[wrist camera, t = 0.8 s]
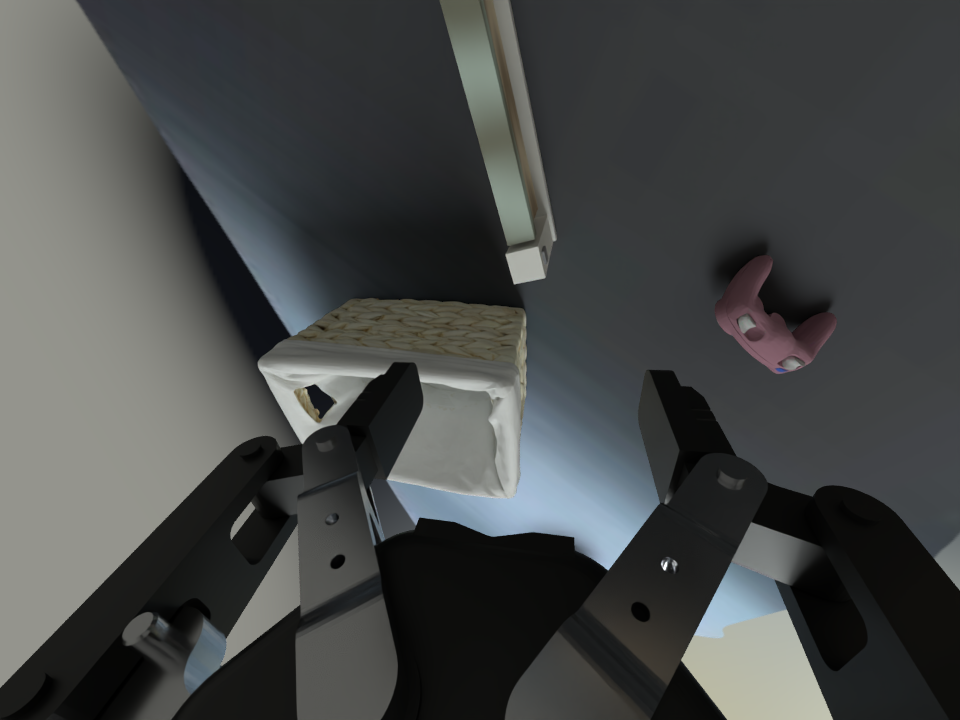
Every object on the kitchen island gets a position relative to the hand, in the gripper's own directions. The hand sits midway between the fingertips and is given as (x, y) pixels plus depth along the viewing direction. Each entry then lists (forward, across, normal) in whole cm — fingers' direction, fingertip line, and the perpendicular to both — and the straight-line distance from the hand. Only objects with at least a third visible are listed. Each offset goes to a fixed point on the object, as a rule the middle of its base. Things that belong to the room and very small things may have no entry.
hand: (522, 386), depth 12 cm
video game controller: (+24, -20, +7) cm, 32 cm away
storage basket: (+26, +13, +14) cm, 32 cm away
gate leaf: (+22, +3, -10) cm, 24 cm away
